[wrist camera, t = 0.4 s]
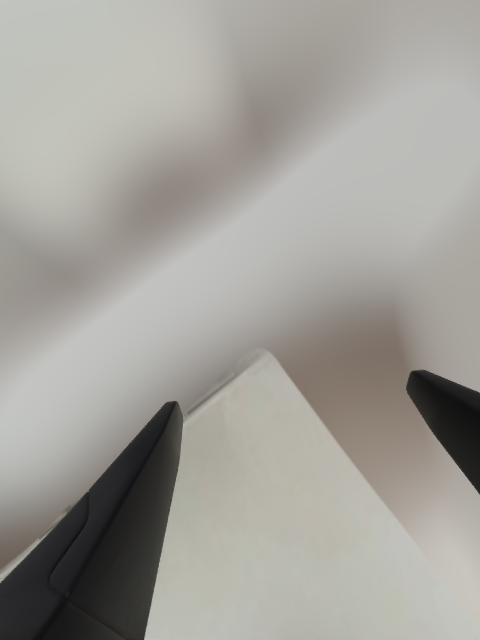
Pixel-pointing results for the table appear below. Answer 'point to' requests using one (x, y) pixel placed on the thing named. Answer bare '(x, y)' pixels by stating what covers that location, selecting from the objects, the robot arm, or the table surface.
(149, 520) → the robot arm
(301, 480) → the table surface
